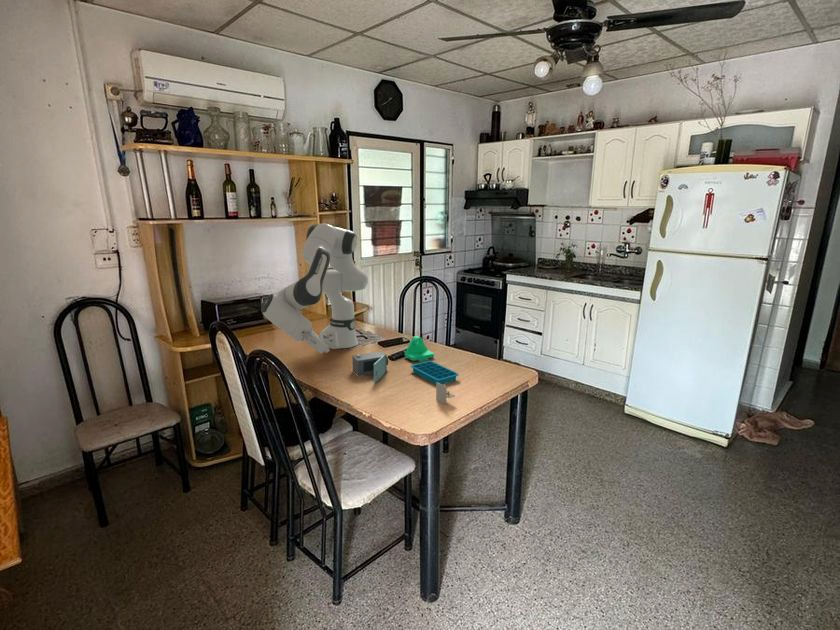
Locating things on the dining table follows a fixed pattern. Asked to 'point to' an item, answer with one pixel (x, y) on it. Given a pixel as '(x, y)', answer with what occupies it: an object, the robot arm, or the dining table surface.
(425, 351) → the camera mount
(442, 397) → the architectural model
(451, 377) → the ice cube tray
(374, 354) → the action camera
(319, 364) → the dining table surface
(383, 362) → the side door
